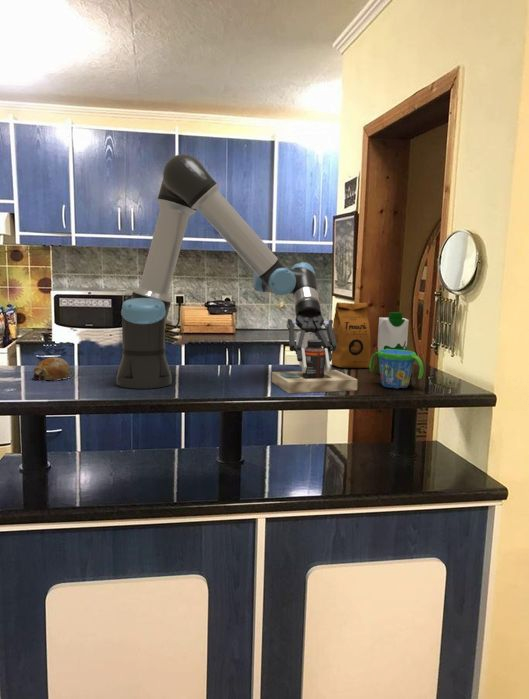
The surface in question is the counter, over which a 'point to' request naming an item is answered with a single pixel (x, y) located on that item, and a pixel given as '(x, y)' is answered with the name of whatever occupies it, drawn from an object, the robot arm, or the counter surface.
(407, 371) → the snack cup
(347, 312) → the coffee package
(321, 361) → the supplement bottle
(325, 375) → the birch socket block
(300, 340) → the robot arm
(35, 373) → the bread roll
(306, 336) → the pale grey stepped figure
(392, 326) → the milk carton
